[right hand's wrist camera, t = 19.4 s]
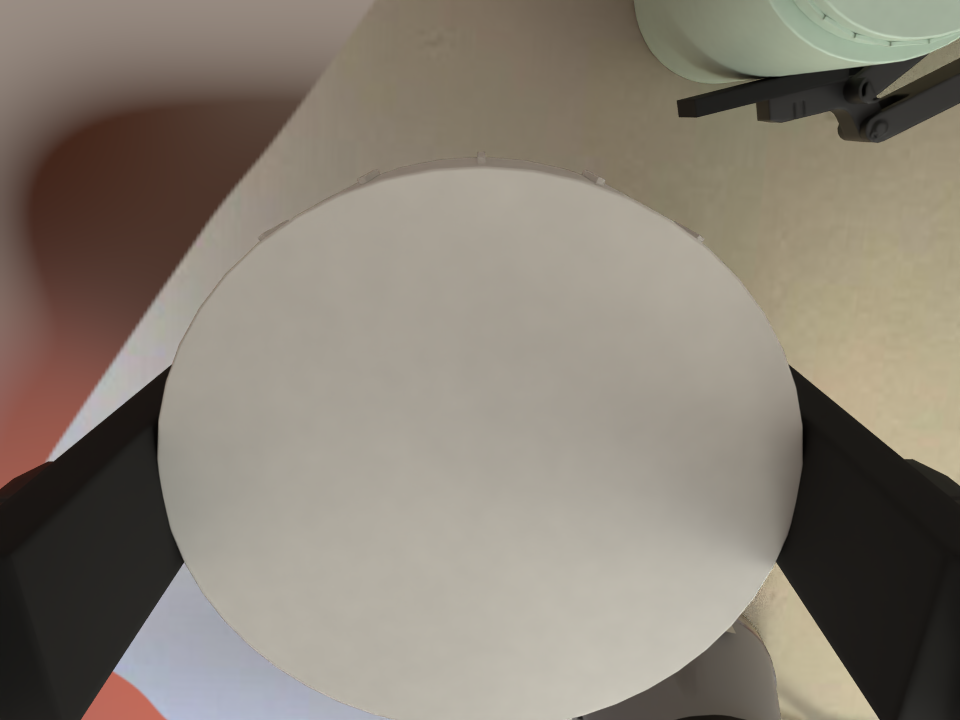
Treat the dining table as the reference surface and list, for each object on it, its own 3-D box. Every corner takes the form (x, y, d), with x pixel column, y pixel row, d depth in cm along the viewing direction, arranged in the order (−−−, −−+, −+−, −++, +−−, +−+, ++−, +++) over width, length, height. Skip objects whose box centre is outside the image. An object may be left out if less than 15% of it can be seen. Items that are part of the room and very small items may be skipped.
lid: (420, 2, 9) (407, -23, 8) (879, 397, 12) (949, 448, 10) (103, 480, 12) (40, 542, 11) (520, 724, 15) (526, 808, 13)
